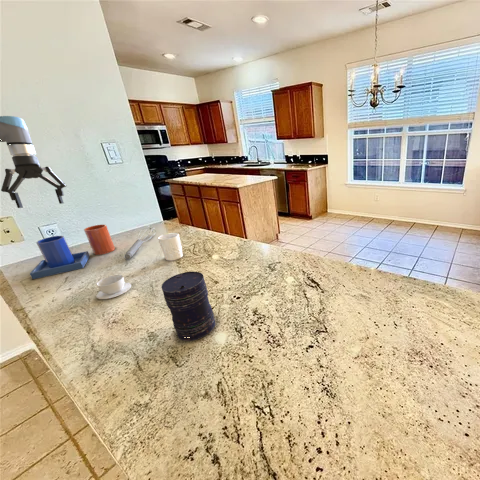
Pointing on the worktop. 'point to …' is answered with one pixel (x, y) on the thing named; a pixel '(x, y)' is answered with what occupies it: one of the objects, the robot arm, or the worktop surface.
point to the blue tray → (44, 269)
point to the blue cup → (55, 251)
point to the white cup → (171, 246)
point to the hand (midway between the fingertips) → (41, 205)
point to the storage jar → (189, 305)
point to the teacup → (112, 287)
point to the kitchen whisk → (135, 246)
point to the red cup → (99, 239)
